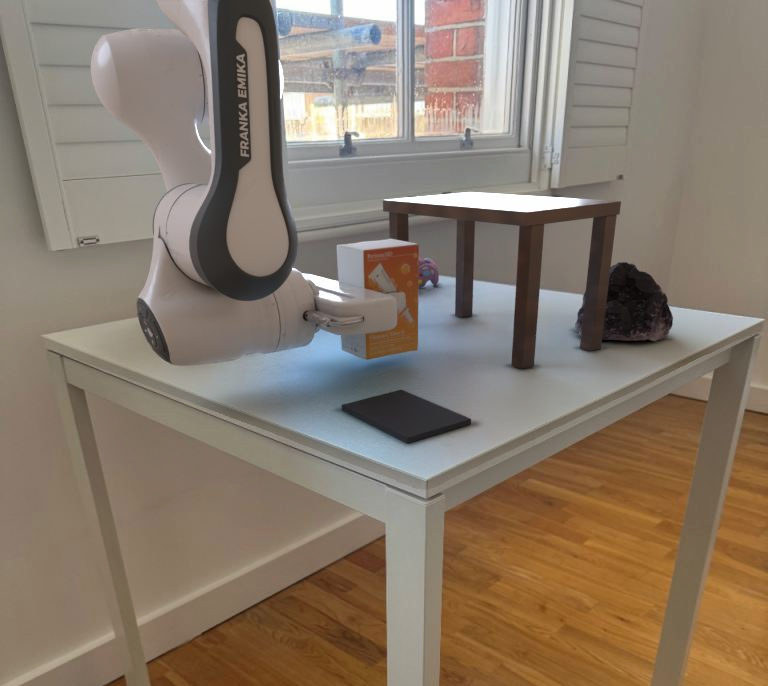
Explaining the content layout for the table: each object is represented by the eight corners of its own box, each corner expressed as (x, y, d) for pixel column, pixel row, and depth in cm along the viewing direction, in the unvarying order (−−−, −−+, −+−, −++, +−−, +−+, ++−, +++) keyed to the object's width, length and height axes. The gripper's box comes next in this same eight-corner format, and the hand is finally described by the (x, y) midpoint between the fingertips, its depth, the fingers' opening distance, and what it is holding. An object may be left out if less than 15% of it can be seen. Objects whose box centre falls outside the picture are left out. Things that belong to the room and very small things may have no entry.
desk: (386, 329, 106) (382, 199, 98) (466, 313, 114) (469, 192, 105) (516, 371, 86) (526, 212, 77) (603, 347, 93) (621, 201, 85)
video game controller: (387, 295, 136) (383, 264, 130) (390, 280, 138) (386, 249, 133) (438, 295, 134) (436, 264, 128) (440, 280, 137) (438, 249, 131)
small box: (366, 361, 86) (362, 249, 79) (340, 350, 90) (334, 243, 84) (420, 350, 90) (420, 242, 83) (392, 340, 94) (390, 237, 88)
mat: (341, 409, 75) (341, 404, 75) (401, 394, 79) (401, 389, 79) (407, 443, 67) (407, 437, 66) (471, 424, 70) (471, 418, 70)
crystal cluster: (643, 356, 92) (664, 278, 87) (551, 333, 99) (566, 259, 94) (679, 342, 101) (700, 270, 96) (593, 322, 108) (608, 254, 103)
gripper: (329, 295, 71) (436, 278, 78) (244, 270, 86) (340, 258, 93) (333, 356, 74) (435, 335, 81) (250, 322, 89) (342, 306, 96)
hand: (383, 293), depth 87 cm, fingers closed on small box, 6 cm apart
